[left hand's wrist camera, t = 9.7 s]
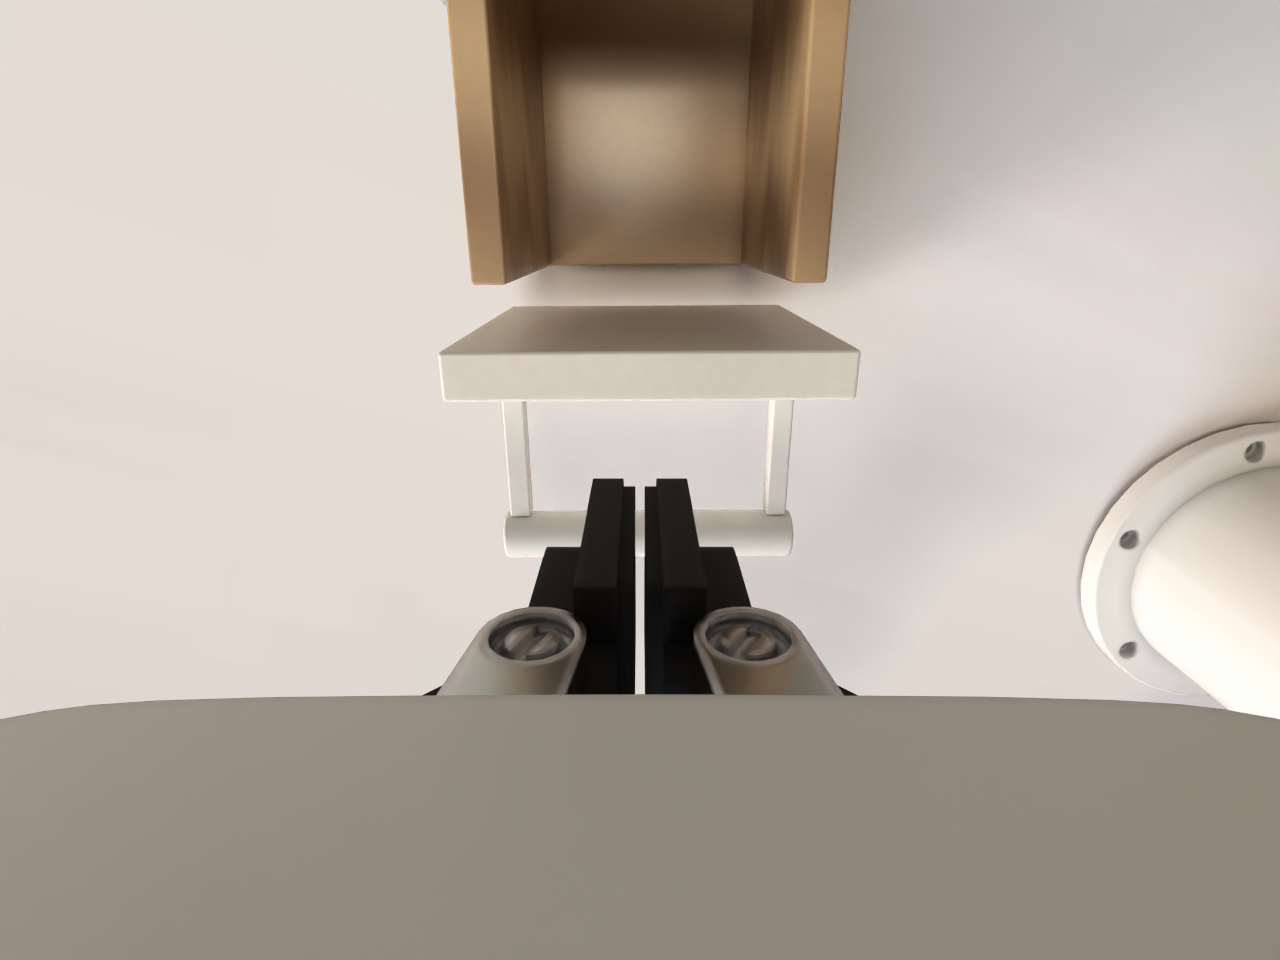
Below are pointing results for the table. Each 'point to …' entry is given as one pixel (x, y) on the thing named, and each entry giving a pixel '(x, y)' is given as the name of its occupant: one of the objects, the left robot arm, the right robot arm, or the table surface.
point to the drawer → (648, 217)
